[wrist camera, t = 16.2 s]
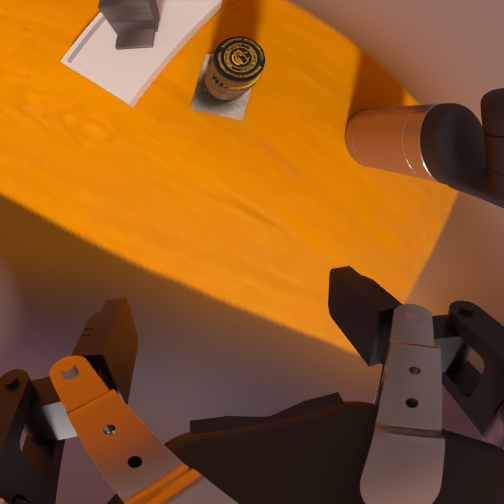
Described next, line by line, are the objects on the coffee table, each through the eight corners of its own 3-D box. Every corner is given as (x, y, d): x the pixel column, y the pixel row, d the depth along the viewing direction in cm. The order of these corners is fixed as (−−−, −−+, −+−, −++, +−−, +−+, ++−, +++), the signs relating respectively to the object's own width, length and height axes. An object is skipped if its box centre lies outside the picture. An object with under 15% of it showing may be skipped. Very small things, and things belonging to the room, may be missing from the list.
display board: (153, -28, 28) (151, -38, 25) (220, 8, 32) (222, -1, 30) (68, 66, 31) (60, 61, 28) (133, 107, 35) (128, 104, 33)
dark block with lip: (160, 15, 29) (152, -17, 20) (155, 47, 31) (145, 20, 22) (119, 18, 28) (102, -12, 19) (114, 50, 30) (94, 26, 21)
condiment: (257, 66, 37) (280, 39, 26) (242, 120, 39) (261, 111, 28) (206, 53, 35) (211, 21, 24) (190, 109, 37) (188, 94, 26)
